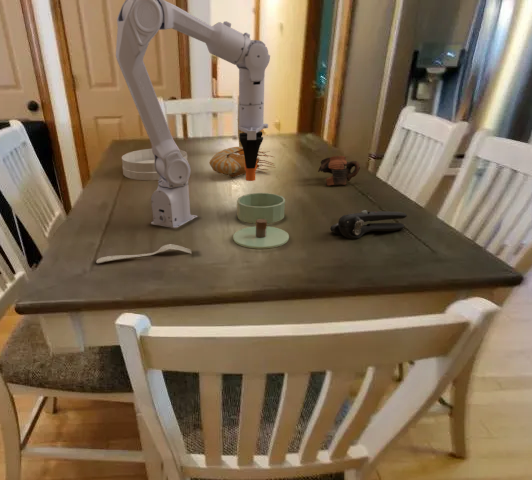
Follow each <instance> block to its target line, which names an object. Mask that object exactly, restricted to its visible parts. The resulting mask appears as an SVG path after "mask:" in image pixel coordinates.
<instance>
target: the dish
mask: <svg viewBox="0 0 532 480" xmlns="http://www.w3.org/2000/svg"><path fill="white" fill-rule="evenodd" d="M179 150H180V153H181V155H182V156H183V158H185V159H186V160H187V161H188V162H189V160H188V153H187V151H185V150H183V149H179ZM121 162H122V167H121V168H122V174H123V176H124V177H125V178H128V179H130V180H136V181H159V177H160V175H159V174H158V173H157V171H156V169H155V166H154V154H153V152H152V148H144V149H138V150H134V151H129V152H127V153H125V154H123V155H122V156H121Z"/></svg>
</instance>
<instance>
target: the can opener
mask: <svg viewBox="0 0 532 480" xmlns="http://www.w3.org/2000/svg"><path fill="white" fill-rule="evenodd" d="M407 217H408V215H407V214H406V213H405V212H402V211H385V210H383V211H382V210H380V211H379V210H375V211H368V210H365V209H364V210H361V211H360V212H355V213H347V214H343V215H342V216H341V217H340V218H339V219H338V222H337V223H335V224H332V225H331V226H330V228H329V230H330V231H331V232H332V233H334V234H336V235H338V236H343V237H344V238H347V239H351V240H357V239H359V238H361V237H362V236H363V235H364V234H366V233H369V232H396V231H400V230H403V229H404V228H406V226H405V224H404V223H402V222H379V221H389V220H403V219H406V218H407ZM366 222H371V223H366ZM373 222H374V223H373ZM375 222H376V223H375ZM365 223H366V224H365Z"/></svg>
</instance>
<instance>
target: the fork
mask: <svg viewBox="0 0 532 480" xmlns="http://www.w3.org/2000/svg"><path fill="white" fill-rule="evenodd" d="M169 250H175V251H180V252H184V253H188V254H191V255H192V252H191V249H190V248H187V247H185V246H181V245H177V244H173V243H168V244H164V245H162V246H161V247H159V249H158V250H156V251H154V252H149V253H141V254H122V255H107V256H103V257H99V258H98V259H96V264H103V263H107V262H113V261H119V260H125V259H133V258H142V257H150V256H154V255H157V254H159V253H163V252H165V251H169Z"/></svg>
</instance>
